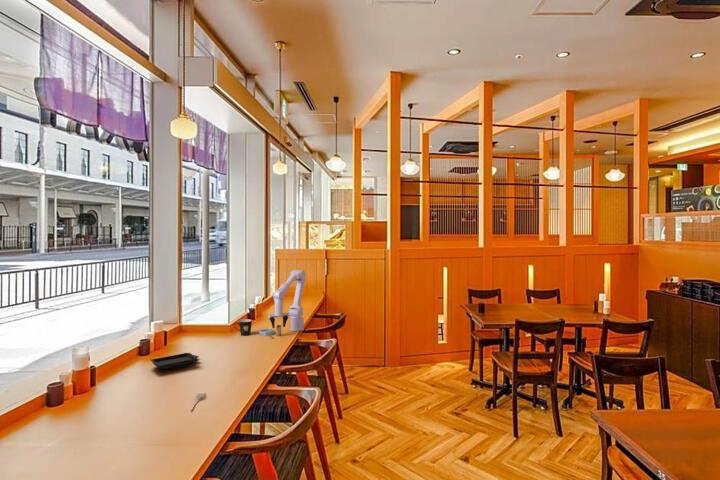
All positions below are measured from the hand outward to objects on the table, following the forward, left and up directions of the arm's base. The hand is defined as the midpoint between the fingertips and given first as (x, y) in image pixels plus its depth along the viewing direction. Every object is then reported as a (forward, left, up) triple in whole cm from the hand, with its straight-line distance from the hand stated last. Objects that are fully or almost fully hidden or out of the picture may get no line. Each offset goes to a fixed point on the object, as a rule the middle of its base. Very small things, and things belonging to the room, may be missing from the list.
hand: (278, 327), depth 292 cm
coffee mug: (+21, -14, -6) cm, 26 cm away
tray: (+69, +36, -6) cm, 78 cm away
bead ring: (+6, -9, -6) cm, 12 cm away
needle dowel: (0, 0, -6) cm, 6 cm away
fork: (+67, +91, -6) cm, 113 cm away
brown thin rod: (+6, +2, -6) cm, 9 cm away
